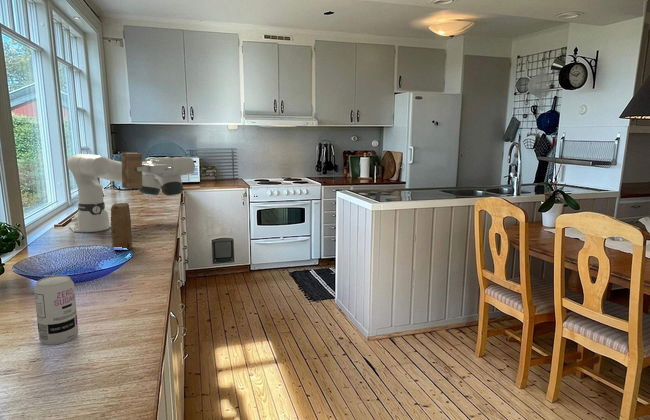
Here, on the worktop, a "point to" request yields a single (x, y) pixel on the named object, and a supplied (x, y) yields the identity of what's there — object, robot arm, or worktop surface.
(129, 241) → the block
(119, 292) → the worktop surface
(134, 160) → the walnut block
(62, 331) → the supplement can
